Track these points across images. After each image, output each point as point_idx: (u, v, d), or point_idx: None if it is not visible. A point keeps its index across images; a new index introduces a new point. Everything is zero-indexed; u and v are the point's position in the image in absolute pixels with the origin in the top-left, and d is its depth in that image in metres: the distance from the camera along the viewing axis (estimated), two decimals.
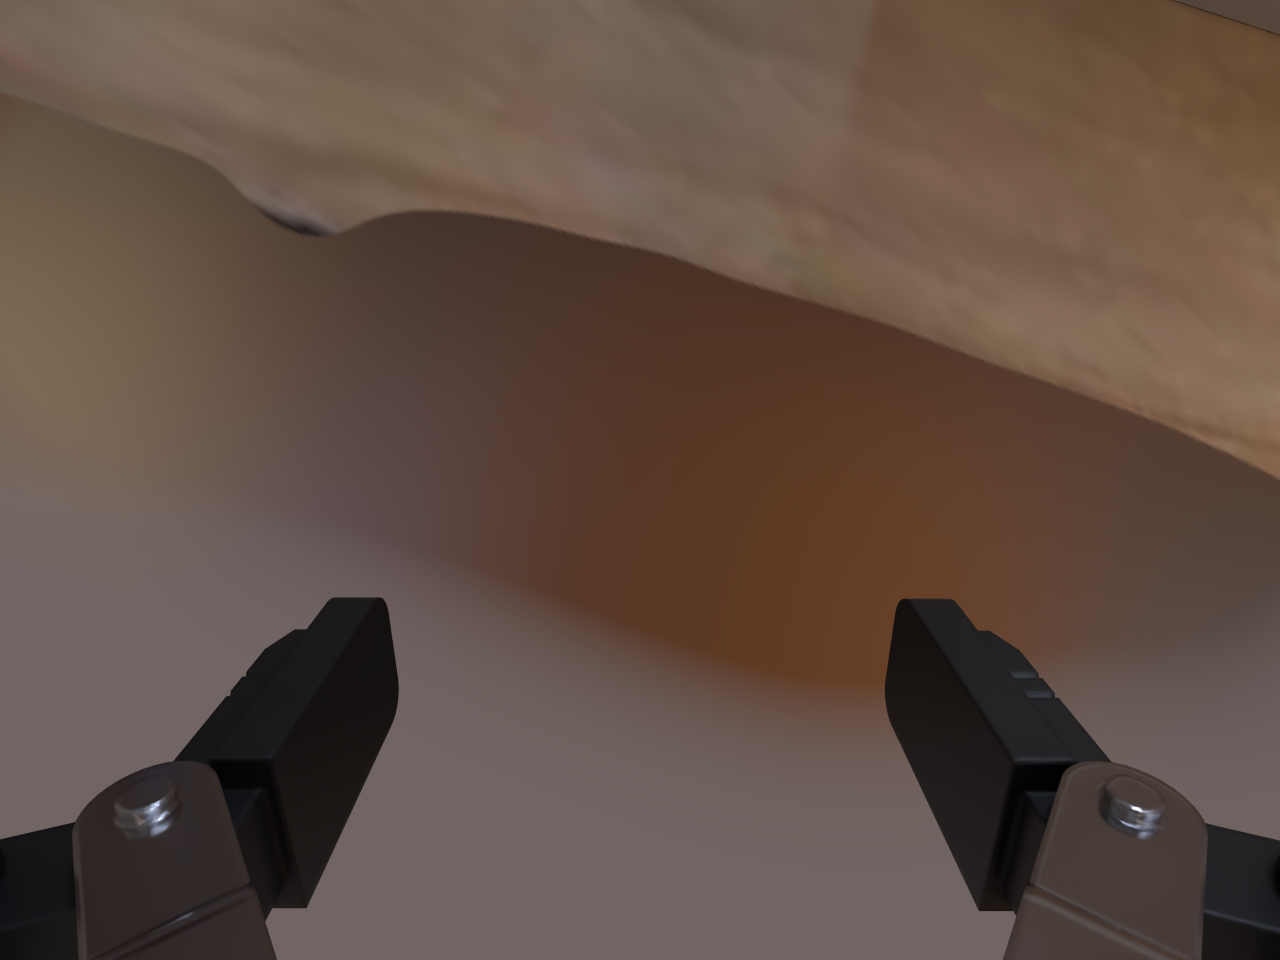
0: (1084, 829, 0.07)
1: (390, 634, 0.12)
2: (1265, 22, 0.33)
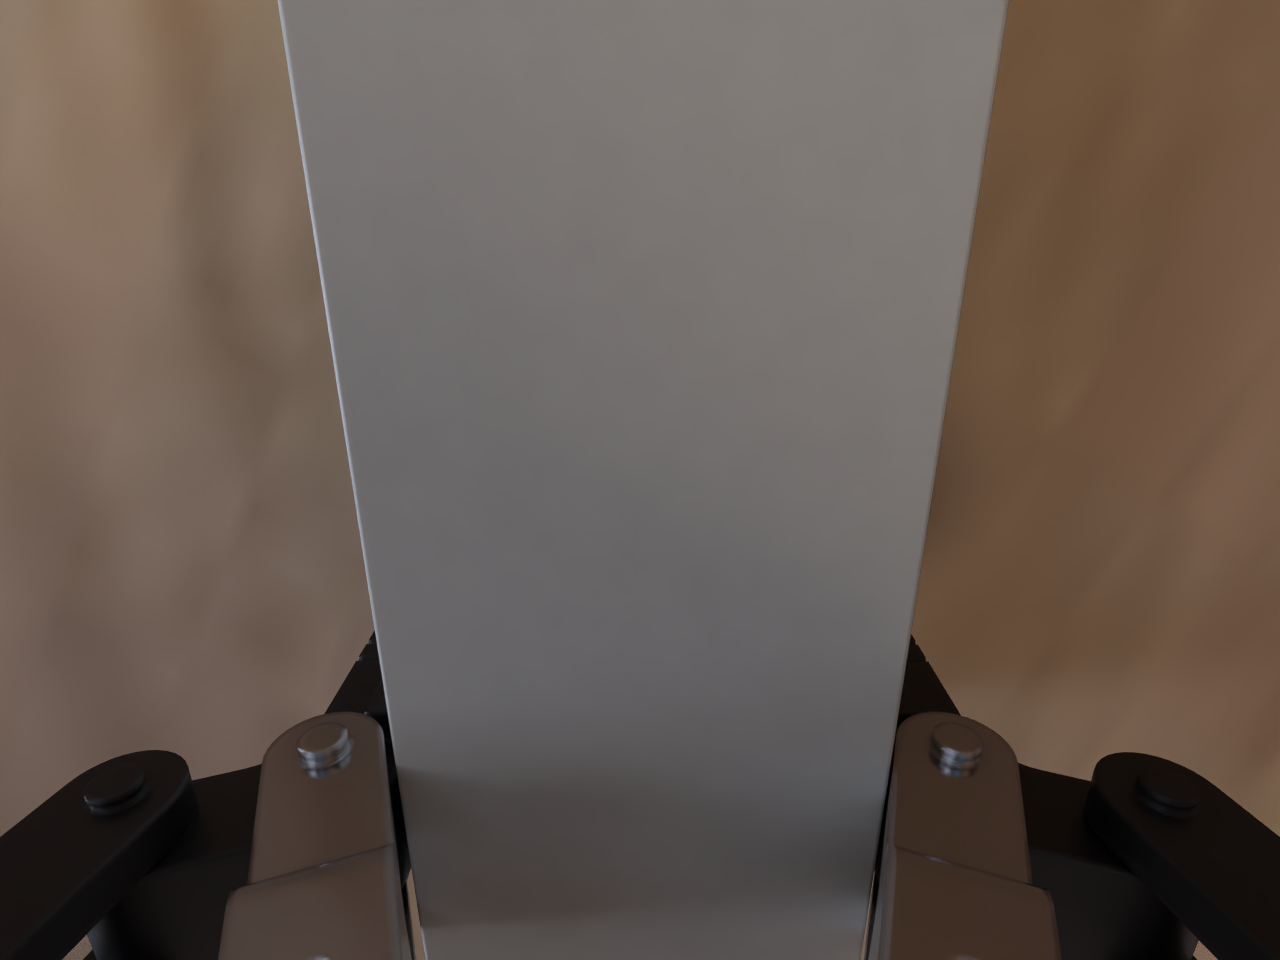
0: (922, 779, 0.07)
1: None
2: None
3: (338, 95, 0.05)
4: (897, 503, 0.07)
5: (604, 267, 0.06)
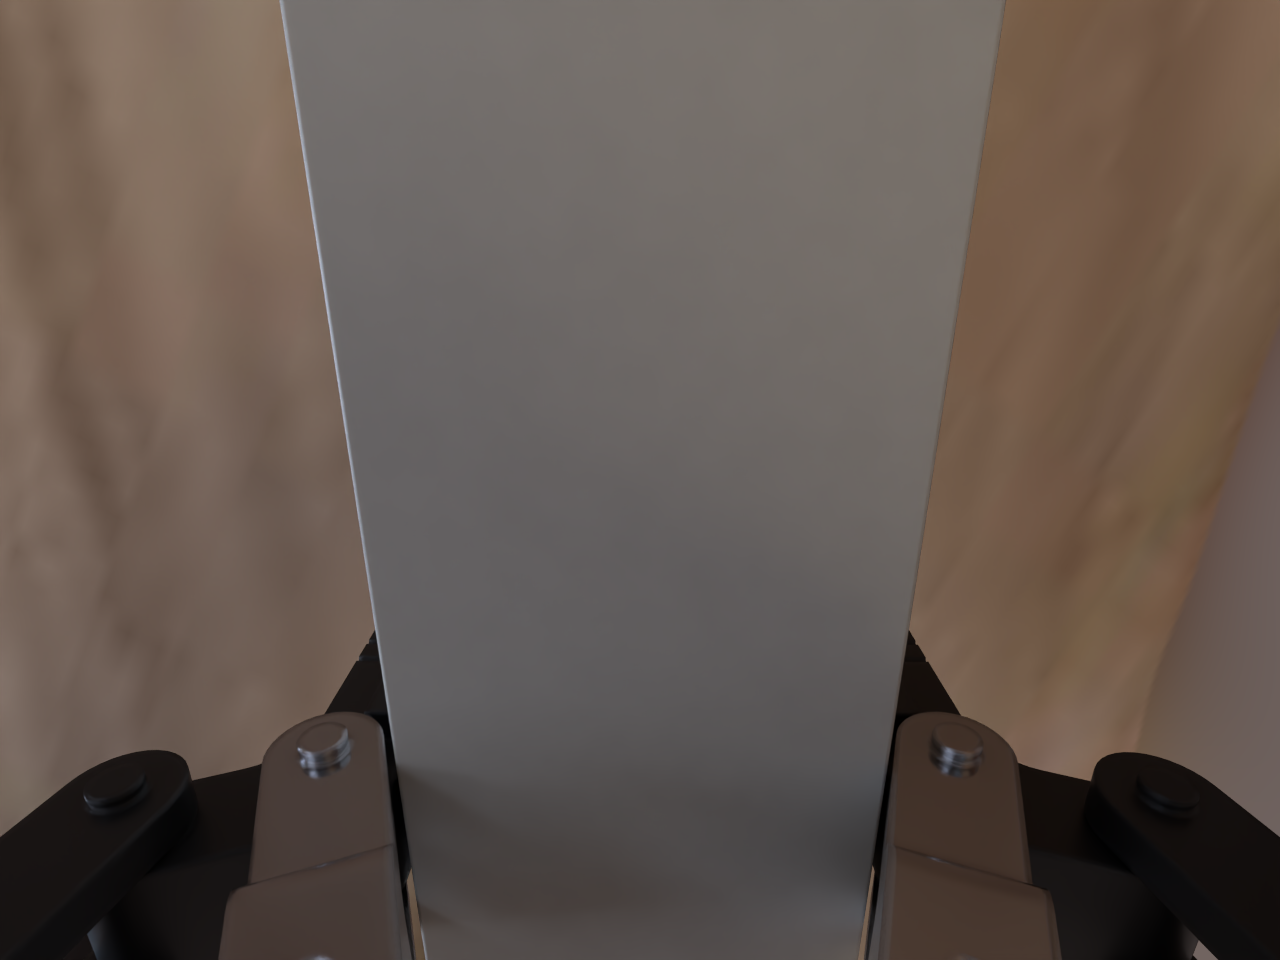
0: (922, 779, 0.07)
1: None
2: None
3: (339, 91, 0.05)
4: (895, 499, 0.07)
5: (604, 265, 0.06)
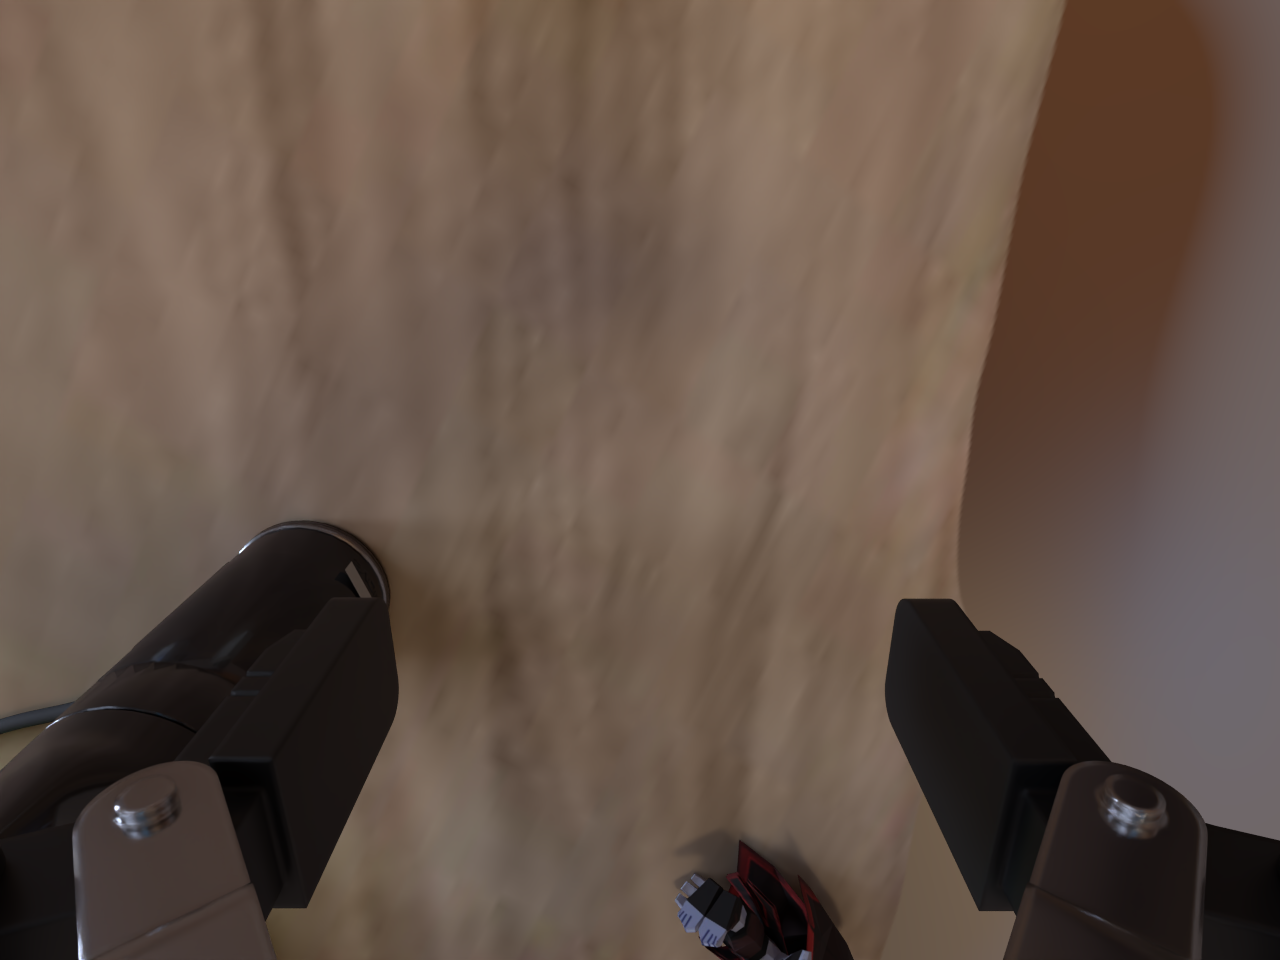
0: (1084, 829, 0.07)
1: (391, 634, 0.12)
2: None
3: None
4: None
5: None
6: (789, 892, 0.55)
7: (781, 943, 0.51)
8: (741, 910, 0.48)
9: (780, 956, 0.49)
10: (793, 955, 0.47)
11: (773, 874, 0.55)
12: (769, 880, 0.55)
